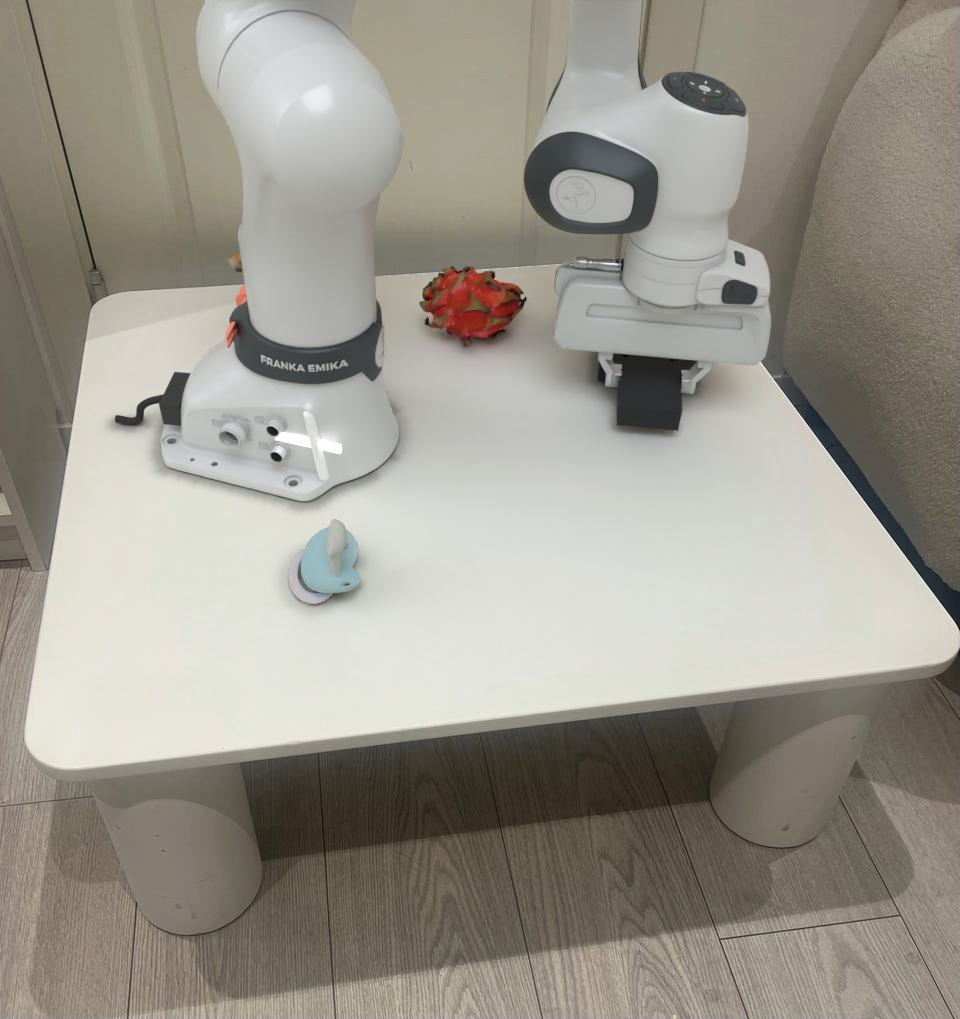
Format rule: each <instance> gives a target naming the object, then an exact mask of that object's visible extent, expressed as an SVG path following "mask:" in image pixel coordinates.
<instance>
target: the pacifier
mask: <svg viewBox="0 0 960 1019" xmlns="http://www.w3.org/2000/svg"><path fill="white" fill-rule="evenodd" d="M346 546H347V548H346ZM345 548H346V549H345ZM358 554H359V546H358V542H357V539H356V537H355V536H354V535H353V533H352V532H351V531H349V530H348V529H347V528H346V526H345V524H344V523H343V522H342V521H341V520H339V519H336V518H333V519H331V520H330V524H329V526H328V527H325V528H323V529H320V530H319V531H318V532H316V533H315V534H313V535H312V536H311V537H310V539H309V540H308V542H307V543H306V545H305V547H304V548H303V549H301V550H300V551H298V552H297V553H296V554H294V557H293V558H292V560H291V561H290V563H289V568H288V574H287V579H288V585H289V588H290V590H291V592H292V593H293V595H294V596H295V597H296V598H297V599H298V600H300V601H301V602H303V603H306V604H308V605H316V604H321V603H324V602H326V601H327V600H329V599H330V597H332V596H333V595H334V594H340V593H346V592H349V591H353V590H355V589H356V588H358V587H359V586H360V583H361V575H360V574H359V573H358V571H357V570H355V569H354V566H355V564H356V563H357V559H358ZM299 573H301V577H302V580H303V582H304V584H305V585H306V587H308V588H309V589H310V590H311V591H313V592H311V591H308V590H307V589H305V588H304V587H303V585H302V584H301V582H300V579H299ZM346 584H348V585H346Z"/></svg>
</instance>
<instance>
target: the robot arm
mask: <svg viewBox="0 0 960 1019" xmlns="http://www.w3.org/2000/svg"><path fill="white" fill-rule="evenodd" d="M356 2H357V0H204V4H203V6H202V7H201V10H200V12H199V14H198V18H197V22H196V29H195V47H196V58H197V64H198V70H199V74H200V78H201V80H202V84H203V86H204V88H205V90H206V92H207V94H208V96H209V97H210V99H211V101H212V102H213V104H214V105H215V107H216V109H217V110H218V112H219V114H220V116H221V117H222V119H223V120H224V122H225V125H227V128H228V130H229V133H230V135H231V138H232V140H233V143H234V146H235V149H236V152H237V155H238V156H237V157H238V161H239V165H240V172H241V177H242V179H241V180H242V220H241V223H240V225H239V228H238V232H237V242H238V248H239V249H240V255H241V262H242V269H243V273H242V276H243V282H244V283H243V284H242V286H240V289H239V293H238V294H237V295H236V296H235V304H236V307H235V308H234V309H233V311H232V312H231V314H230V316H229V318H228V319H229V320H228V321H229V325H228V327H227V330H226V332H225V336H224V337H225V338H224V339H225V340H223V341H221V342H219V343H217V344H215V345H213V346H212V347H211V348H209V349H208V350H206V352H205V353H203V355H202V356H201V357H200V359H198V361H197V362H196V364H195V365H194V367H193V368H192V371H191V372H181V371H180V372H179V371H173V374H172V375H171V378H170V380H169V382H168V384H167V386H166V389H165V390H164V393H163V394H158V395H153V396H150V397H147V398H145V399H143V400H142V401H140V402H139V403H138V404H137V405H136V411H135V413H136V415H135V416H134V417H132V416H131V417H130V416H124V415H121V414H120V415H119V414H116V415H115V416H114V422H115V423H116V424H122V425H128V426H135V425H139V424H141V423H142V422H143V420H144V418H145V409H146V408H148V407H150V406H152V405H153V406H154V405H157V404H158V408H159V411H160V416H161V419H162V420H161V421H162V424H163V428H162V433H161V437H160V449H161V457H162V460H163V463H164V464H165V466H166V467H167V468H170V469H172V470H176V471H180V472H183V473H187V474H192V475H196V476H199V477H204V478H207V479H212V480H215V481H218V482H223V483H227V484H232V485H235V486H239V487H241V488H246V489H250V490H254V491H259V492H262V493H266V494H270V495H275V496H278V497H283V498H286V499H290V500H294V501H296V502H297V501H298V502H310V501H313V500H315V499H317V498H319V497H320V496H322V495H324V494H325V493H326V492H328V491H329V490H330V489H332V488H333V487H336V486H338V485H340V484H343V483H347V482H349V481H354V480H356V479H359V478H361V477H363V476H366V475H368V474H370V473H371V472H373V471H375V470H376V469H378V468H379V467H381V466H382V465H384V463H385V462H387V460H388V459H389V458H390V457H391V456H392V454H393V453H394V451H395V450H396V448H397V446H398V443H399V439H400V426H399V423H398V420H397V417H396V415H395V414H394V411H393V408H392V406H391V401H390V398H389V395H388V391H387V387H386V382H385V377H384V373H383V367H384V364H385V356H386V346H385V342H386V341H385V326H384V325H383V316H382V315H383V314H382V307H381V305H380V302H379V300H378V299H377V285H376V284H377V282H376V280H377V279H376V259H375V258H376V256H375V228H376V221H377V214H378V209H379V205H380V204H379V203H380V199H381V194H382V193H383V192H384V191H385V190H386V189H387V187H388V186H389V185H390V183H391V182H392V181H393V179H394V178H395V175H396V173H397V171H398V169H399V166H400V164H401V163H400V162H401V159H402V155H403V147H404V138H403V137H404V136H403V129H402V125H401V121H400V118H399V115H398V112H397V110H396V106H395V103H394V101H393V98H392V96H391V93H390V91H389V88H388V87H387V85H386V83H385V80H384V79H383V76H382V75H381V73H380V72H379V71H378V69H377V68H376V67H375V66H374V64H373V63H372V62H371V61H370V60H369V59H368V58H367V57H366V56H365V55H364V54H363V52H361V51H360V49H359V48H357V46H356V45H355V44H354V41H353V40H354V39H353V32H352V24H353V16H354V10H355V7H356ZM643 5H644V0H568V1H567V11H568V12H567V47H566V48H567V50H566V51H567V52H566V60H565V65H564V67H563V71H562V73H561V75H560V77H559V79H558V80H557V82H556V84H555V86H554V88H553V90H552V92H551V95H550V97H549V99H548V103H547V105H546V106H547V107H546V109H545V114H544V118H543V120H542V123H541V125H540V128H539V130H538V133H537V135H536V136H535V139H534V142H533V144H532V147H531V149H530V153H529V154H528V158H527V160H526V162H525V167H524V172H523V186H524V191H525V194H526V197H527V199H528V202H529V204H530V206H531V207H532V209H533V210H534V211H535V213H536V214H537V215H538V216H539V217H540V218H541V220H543V221H544V222H545V223H547V224H548V225H550V226H551V227H553V228H555V229H557V230H559V231H562V232H565V233H570V234H577V235H626V238H625V245H624V252H623V258H610V257H597V258H596V257H589V256H587V255H586V256H585V255H576V256H573V258H572V259H569V260H565V261H563V262H562V263H560V264H559V265H558V267H557V268H556V270H555V273H554V284H553V287H554V291H555V294H556V295H557V297H558V301H557V305H556V310H555V315H554V323H553V332H552V334H553V335H552V339H553V341H554V343H555V344H556V346H558V347H559V349H562V350H570V351H571V350H572V351H580V352H581V351H582V352H595V353H597V361H598V360H599V362H600V364H601V366H602V367H603V369H604V371H605V373H606V378H605V382H604V386H605V387H610V388H617V387H619V385H620V381H621V377H622V364H614V362H613V360H612V358H613V353H616V354H627V355H638V356H650V357H661V358H673V359H684V360H695V361H697V362H696V363H695V364H694V365H693V367H692V368H691V369H690V370H681V373H680V382H681V394H689V395H695V391H696V387H697V384H698V383H697V382H699V381H701V379H703V378H704V377H705V376H706V375H707V374H708V373H709V372H711V370H712V368H713V364H714V363H718V364H730V365H731V364H732V365H742V366H756V365H757V364H759V363H760V362H762V361H763V360H764V359H765V358H766V356H767V353H768V349H769V345H770V339H771V332H772V330H771V329H772V328H771V327H772V315H771V308H770V302H769V298H770V295H771V277H770V276H771V275H770V269H769V266H768V263H767V261H766V258H765V255H764V254H763V253H762V252H761V251H759V250H757V249H755V248H752V247H750V246H747V245H745V244H742V243H741V242H737V241H734V240H733V239H730V238H729V237H730V235H729V234H730V233H729V232H730V231H729V218H730V214H731V211H732V210H733V208H734V206H735V205H736V203H737V200H738V199H739V195H740V194H739V193H740V190H741V184H742V179H743V175H744V171H745V170H744V169H745V164H746V158H747V153H748V152H747V151H748V143H749V133H750V132H749V130H750V127H749V126H750V123H749V122H750V121H749V114H748V110H747V108H746V104H745V103H744V101H743V99H742V98H741V97H740V95H739V94H738V93H737V92H736V90H734V89H733V88H732V87H730V86H729V85H727V84H726V83H725V82H723V81H722V80H719V79H717V78H716V77H713V76H709V75H707V74H704V73H700V72H695V71H673V72H668V73H666V74H664V75H663V76H662V77H661V78H660V79H658V80H657V81H655V83H652V84H651V85H649V86H648V85H647V82H646V79H645V76H644V73H643V70H642V65H641V60H640V48H641V47H640V46H641V45H640V44H641V32H642V20H643ZM239 249H238V250H239Z"/></svg>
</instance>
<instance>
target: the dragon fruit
mask: <svg viewBox="0 0 960 1019" xmlns="http://www.w3.org/2000/svg"><path fill="white" fill-rule="evenodd" d="M441 271H442V272H438V274H437V276H435V277H433V278H432V280H430V281H429V282H428V283H427V285H426V286H425V287H423V288H422V293H421V294H422V295H421V298H422V299H423V300H421V301H420V300H419V302H418V304H419V307H420V308H421V310H422V311H423V312H424V313H427V314H428V313H430V314H431V315H432V321H431V322H430V317H429V316H428V315H426V317H425V319H424V325H425V326H426V327H428V328H430V329H437V330H443V329H445V330H446V332H447V334H448V335H449V336H453V335H454V336H456V337H458V338H459V340H460V341H461V342H462V343H463V342H464V343H465V344H464V346H470V345H472V342H473V341H474V339H473V338H483V339H487V340H489V339H490V340H494V339H496V338H498V337H499V336H501V335H503V334H505V333H506V331H507V329H506V328H505V327H508V325H509V324H511V322H513V321H514V319H515V317H516V316H517V315H518V314H519V313H520V312H522V310H523V308H524V307H525V304H526V302H527V300H528V298H527V296H524V298H521V297H522V295H524V294H525V292H524V291H523V290H522V288H521V287H520V286H519V285H518V284H514V283H512V282H503V281H502V282H500V281H498V280H496V279H495V278H496V272H495V271H494V270H485V271H483V272H477V271H476V269H475V267H474V266H469V265H466V266H465V267H463V268H462V269H460V270H458V269H456V267H455V266H454V265H450V267H444V268H443V269H442V270H441ZM471 337H472V338H471Z"/></svg>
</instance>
